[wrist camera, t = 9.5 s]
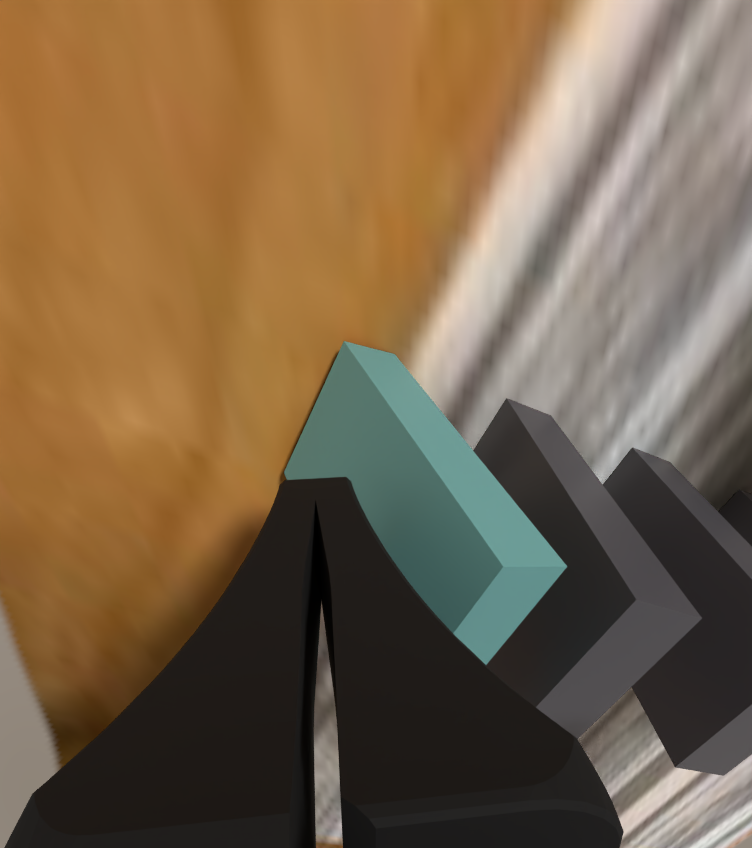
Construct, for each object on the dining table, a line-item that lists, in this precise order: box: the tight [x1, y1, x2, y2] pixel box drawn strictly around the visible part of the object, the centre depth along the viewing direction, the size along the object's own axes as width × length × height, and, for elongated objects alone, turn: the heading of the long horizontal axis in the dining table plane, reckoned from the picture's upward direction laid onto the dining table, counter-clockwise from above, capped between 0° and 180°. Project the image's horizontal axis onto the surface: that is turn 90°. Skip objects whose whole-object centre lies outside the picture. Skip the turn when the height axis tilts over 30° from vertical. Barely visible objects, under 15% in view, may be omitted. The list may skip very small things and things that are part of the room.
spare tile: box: [284, 341, 567, 665], centre depth 13 cm, size 2×4×8 cm, turn 156°
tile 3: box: [603, 448, 752, 776], centre depth 16 cm, size 2×4×8 cm, turn 155°
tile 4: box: [474, 399, 702, 739], centre depth 14 cm, size 2×4×8 cm, turn 155°
